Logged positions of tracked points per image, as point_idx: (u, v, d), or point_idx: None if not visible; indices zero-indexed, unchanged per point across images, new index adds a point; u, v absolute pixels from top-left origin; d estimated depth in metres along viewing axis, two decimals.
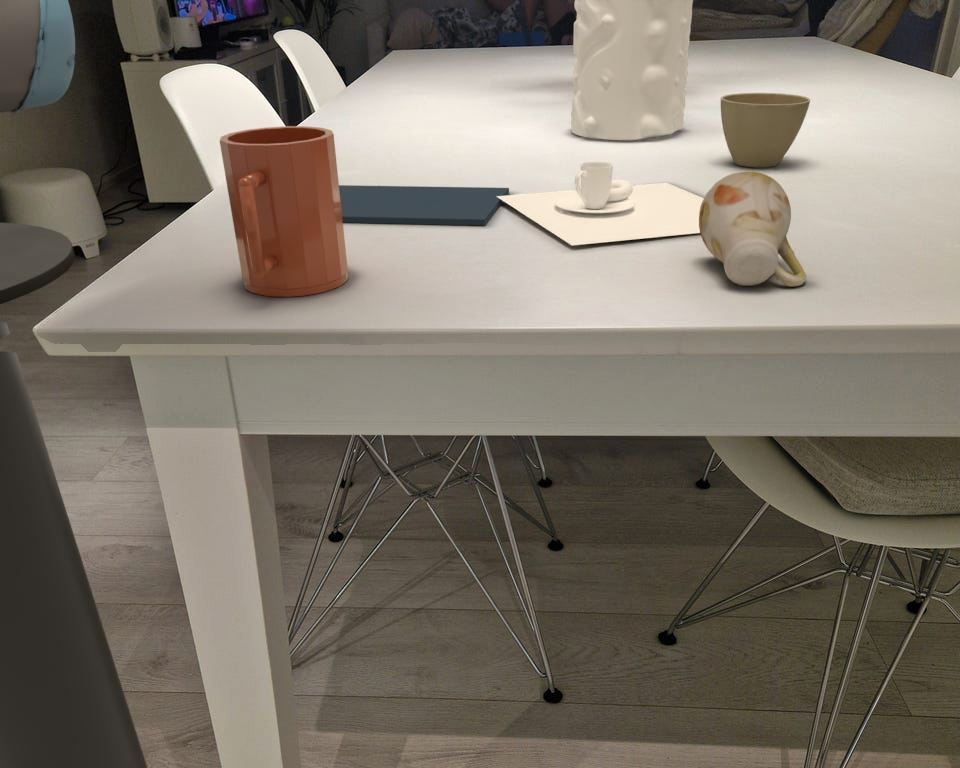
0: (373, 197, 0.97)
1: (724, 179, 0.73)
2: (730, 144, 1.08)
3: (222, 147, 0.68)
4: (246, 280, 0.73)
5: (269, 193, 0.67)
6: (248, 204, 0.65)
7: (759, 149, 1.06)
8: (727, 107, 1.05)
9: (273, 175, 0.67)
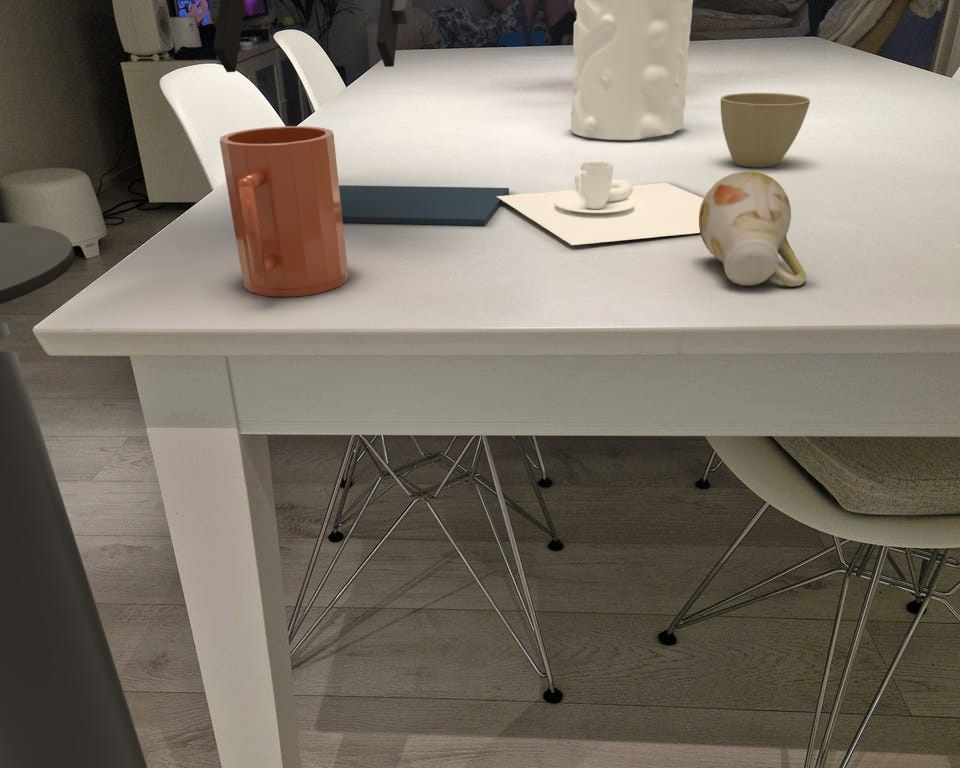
0: (373, 197, 0.97)
1: (724, 179, 0.73)
2: (730, 144, 1.08)
3: (222, 147, 0.68)
4: (246, 280, 0.73)
5: (269, 193, 0.67)
6: (248, 204, 0.65)
7: (759, 149, 1.06)
8: (727, 107, 1.05)
9: (273, 175, 0.67)
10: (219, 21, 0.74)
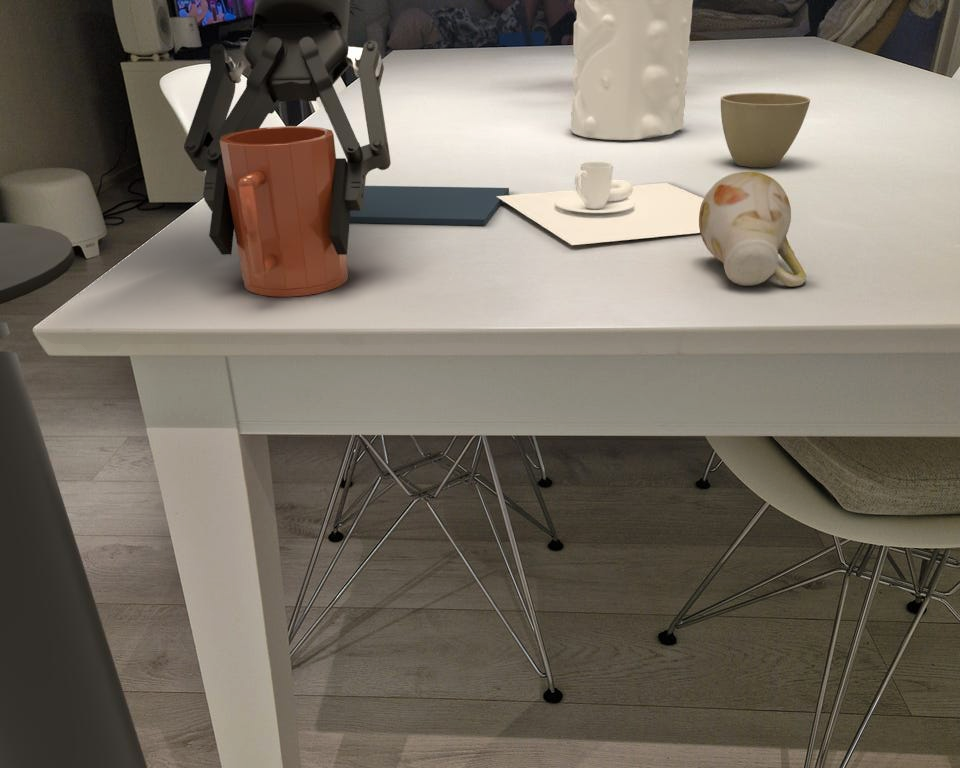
0: (373, 197, 0.97)
1: (724, 179, 0.73)
2: (730, 144, 1.08)
3: (222, 147, 0.68)
4: (246, 280, 0.73)
5: (269, 193, 0.67)
6: (248, 204, 0.65)
7: (759, 149, 1.06)
8: (727, 107, 1.05)
9: (273, 175, 0.67)
10: (215, 206, 0.70)
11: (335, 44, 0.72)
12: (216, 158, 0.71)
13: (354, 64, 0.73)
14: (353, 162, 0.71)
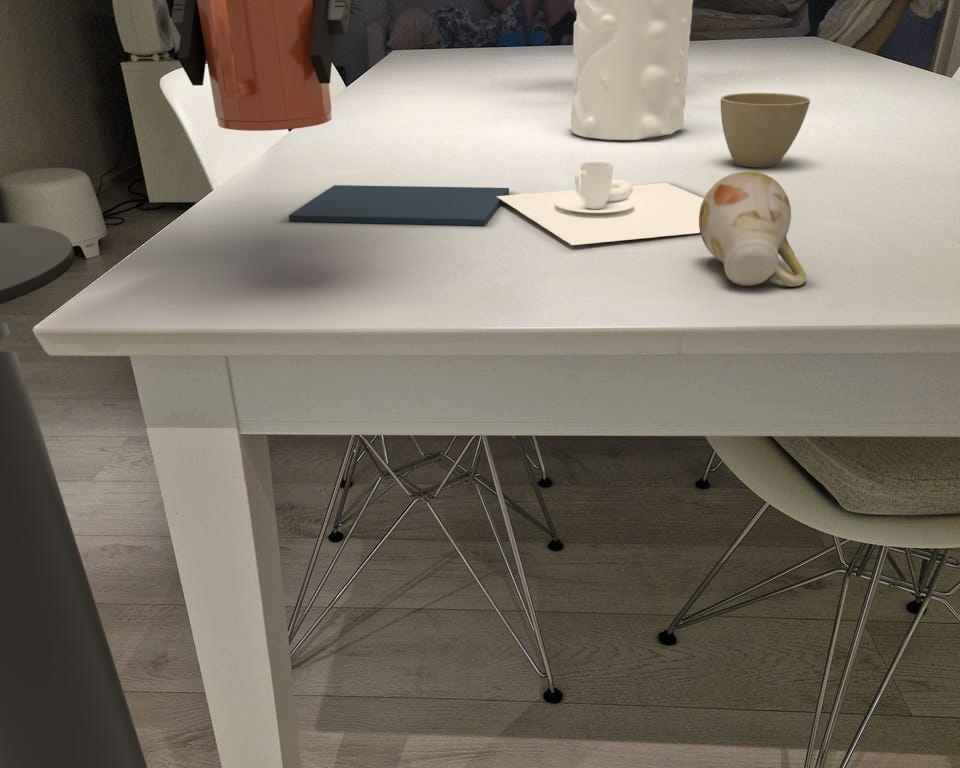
0: (373, 197, 0.97)
1: (724, 179, 0.73)
2: (730, 144, 1.08)
3: None
4: (219, 115, 0.66)
5: (243, 4, 0.61)
6: (218, 10, 0.59)
7: (759, 149, 1.06)
8: (727, 107, 1.05)
9: None
10: (184, 26, 0.64)
11: None
12: None
13: None
14: None
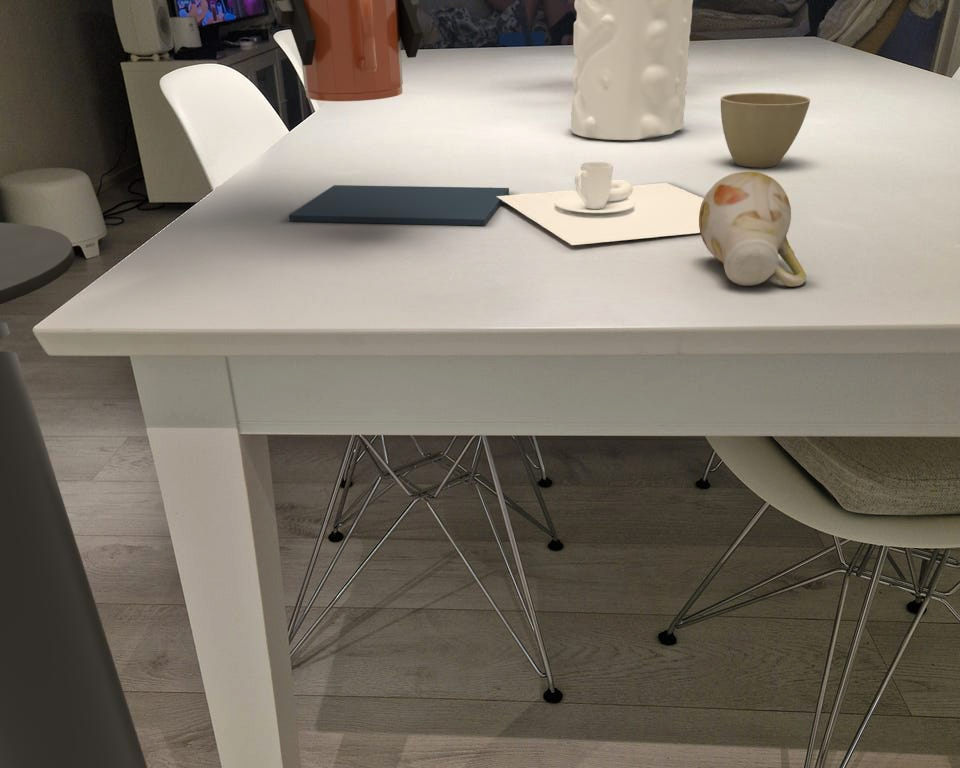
0: (373, 197, 0.97)
1: (724, 179, 0.73)
2: (730, 144, 1.08)
3: None
4: (327, 90, 0.77)
5: None
6: None
7: (759, 149, 1.06)
8: (727, 107, 1.05)
9: None
10: (300, 13, 0.73)
11: None
12: None
13: None
14: None
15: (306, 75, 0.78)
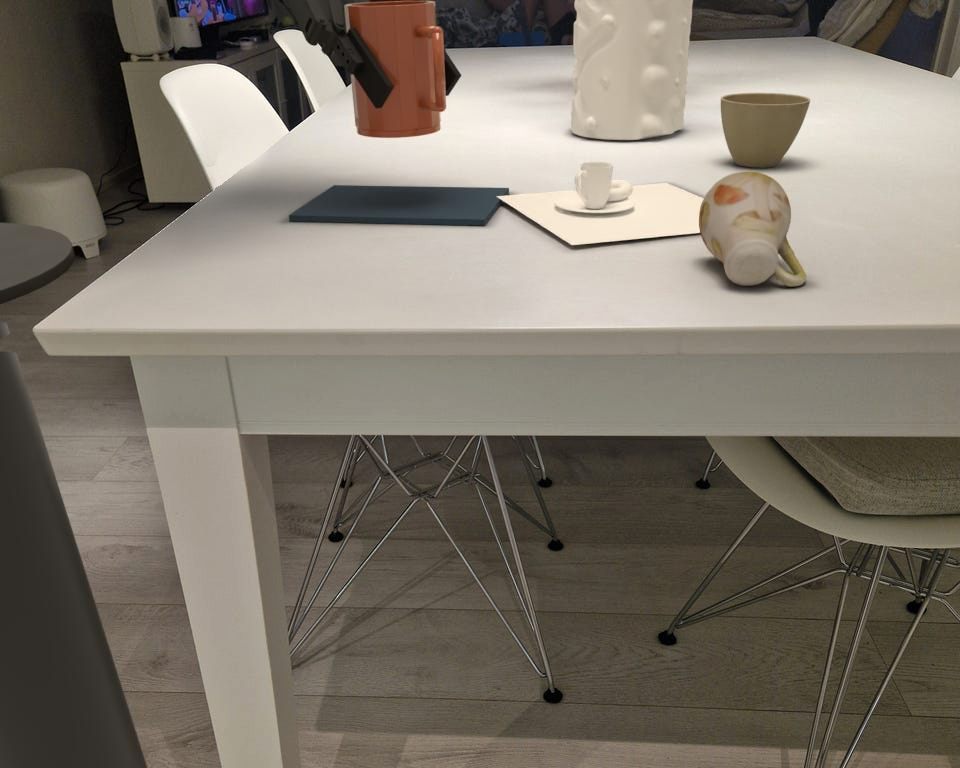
0: (373, 197, 0.97)
1: (724, 179, 0.73)
2: (730, 144, 1.08)
3: (379, 11, 0.83)
4: (393, 128, 0.88)
5: (425, 44, 0.86)
6: (442, 48, 0.84)
7: (759, 149, 1.06)
8: (727, 107, 1.05)
9: None
10: (374, 64, 0.84)
11: None
12: (345, 28, 0.84)
13: None
14: None
15: (368, 116, 0.88)
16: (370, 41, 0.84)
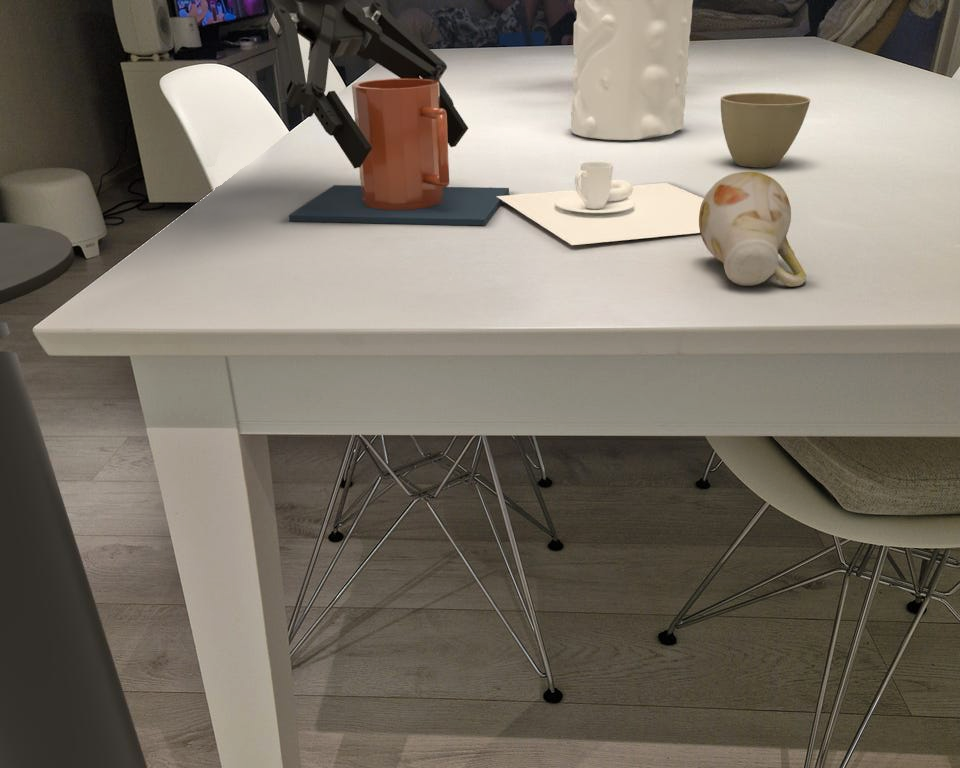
0: None
1: (724, 179, 0.73)
2: (730, 144, 1.08)
3: (386, 93, 0.87)
4: (398, 201, 0.92)
5: (429, 123, 0.89)
6: (446, 128, 0.87)
7: (759, 149, 1.06)
8: (727, 107, 1.05)
9: None
10: (353, 126, 0.86)
11: (358, 8, 0.93)
12: (323, 91, 0.86)
13: (373, 19, 0.95)
14: None
15: (374, 190, 0.92)
16: (377, 121, 0.88)
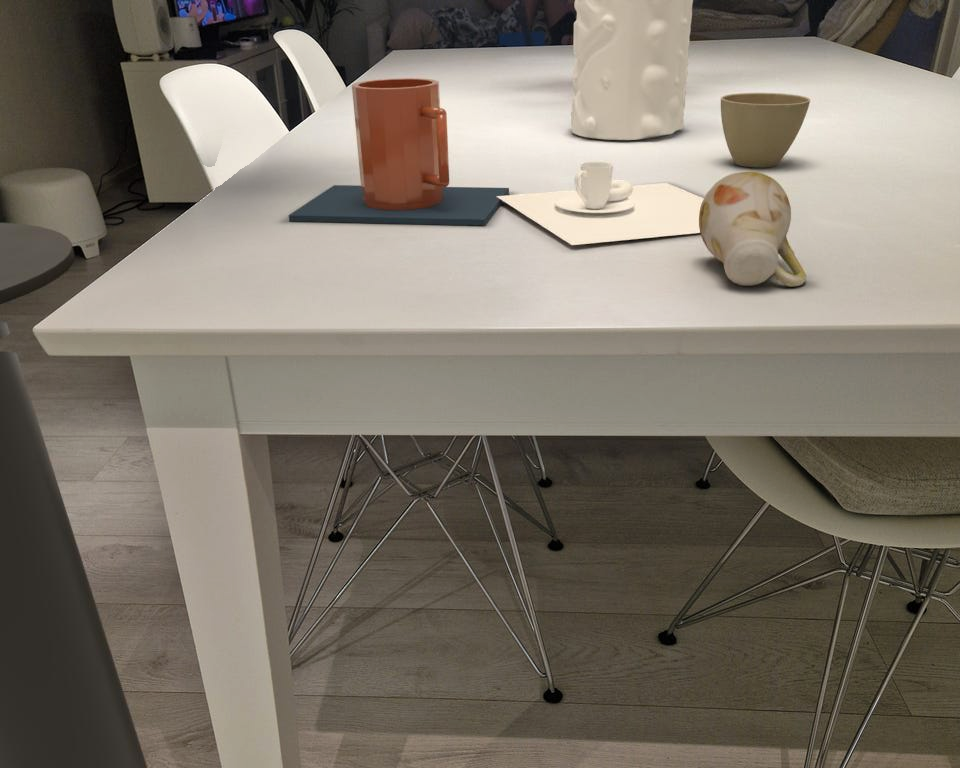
0: None
1: (724, 179, 0.73)
2: (730, 144, 1.08)
3: (386, 93, 0.87)
4: (398, 201, 0.92)
5: (429, 123, 0.89)
6: (446, 128, 0.87)
7: (759, 149, 1.06)
8: (727, 107, 1.05)
9: None
10: None
11: None
12: None
13: None
14: None
15: (374, 190, 0.92)
16: (377, 121, 0.88)
